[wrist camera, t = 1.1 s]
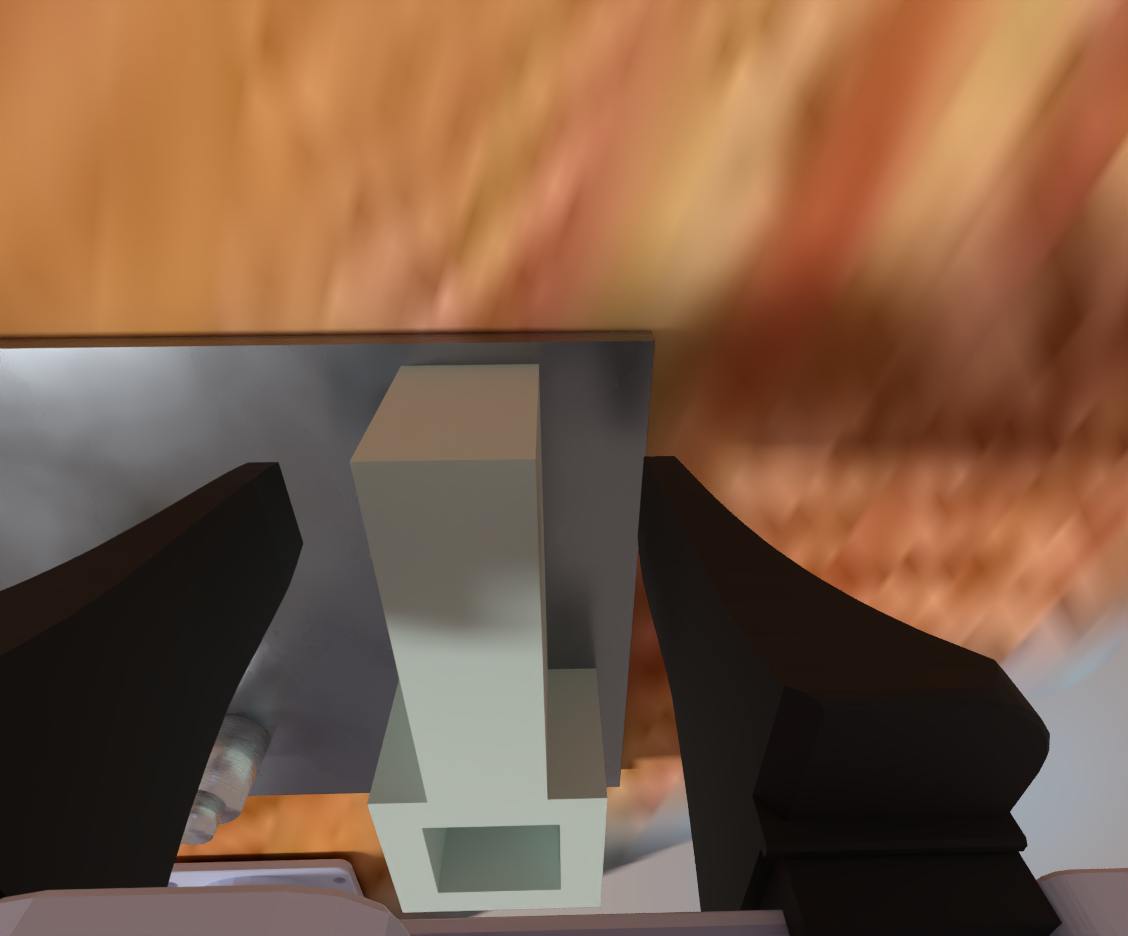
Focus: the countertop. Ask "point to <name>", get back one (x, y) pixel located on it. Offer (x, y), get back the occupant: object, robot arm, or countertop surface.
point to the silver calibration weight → (226, 777)
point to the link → (475, 654)
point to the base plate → (323, 501)
